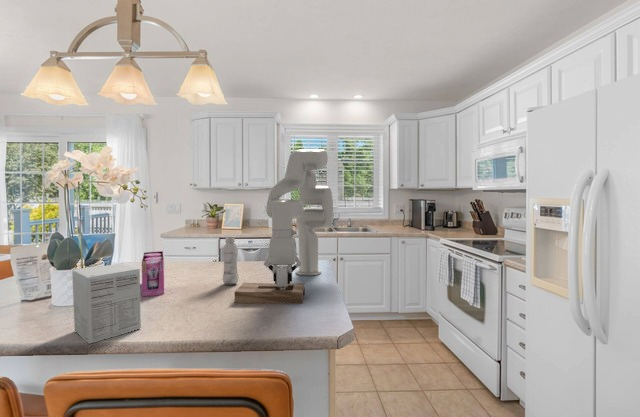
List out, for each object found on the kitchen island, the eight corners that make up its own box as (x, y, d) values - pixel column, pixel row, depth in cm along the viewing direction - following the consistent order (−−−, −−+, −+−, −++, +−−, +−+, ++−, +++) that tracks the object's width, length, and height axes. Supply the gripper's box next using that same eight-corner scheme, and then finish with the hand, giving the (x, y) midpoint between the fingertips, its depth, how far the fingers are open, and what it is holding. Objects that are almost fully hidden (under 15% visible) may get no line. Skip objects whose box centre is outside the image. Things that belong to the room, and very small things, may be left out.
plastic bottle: (236, 286, 142) (235, 238, 141) (220, 286, 142) (219, 238, 141) (240, 282, 148) (239, 236, 147) (225, 282, 148) (224, 236, 147)
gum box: (164, 295, 129) (164, 260, 128) (141, 298, 126) (140, 262, 125) (164, 281, 151) (163, 250, 150) (144, 283, 147) (143, 252, 147)
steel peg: (277, 295, 127) (277, 265, 127) (289, 295, 127) (289, 265, 127) (276, 299, 123) (275, 267, 122) (288, 299, 123) (287, 267, 122)
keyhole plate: (243, 293, 131) (243, 283, 131) (304, 293, 131) (304, 283, 130) (234, 303, 120) (234, 291, 119) (302, 303, 119) (302, 292, 119)
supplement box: (142, 329, 96) (140, 268, 96) (88, 345, 86) (86, 277, 86) (124, 318, 105) (122, 262, 104) (73, 331, 95) (71, 270, 94)
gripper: (305, 232, 128) (306, 280, 128) (261, 232, 128) (262, 280, 129) (304, 235, 120) (304, 286, 121) (257, 235, 121) (258, 285, 121)
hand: (282, 282), depth 125 cm, fingers closed on steel peg, 4 cm apart
